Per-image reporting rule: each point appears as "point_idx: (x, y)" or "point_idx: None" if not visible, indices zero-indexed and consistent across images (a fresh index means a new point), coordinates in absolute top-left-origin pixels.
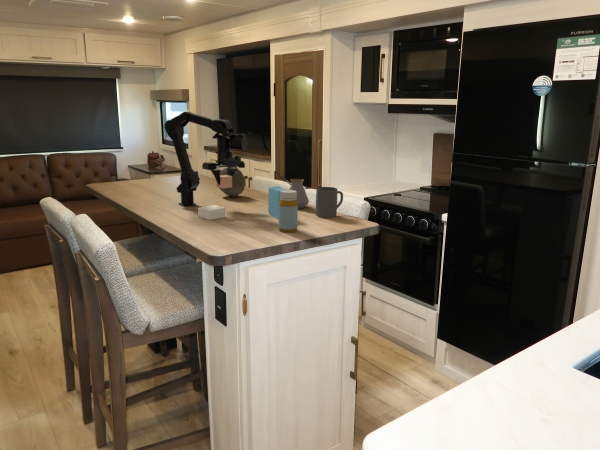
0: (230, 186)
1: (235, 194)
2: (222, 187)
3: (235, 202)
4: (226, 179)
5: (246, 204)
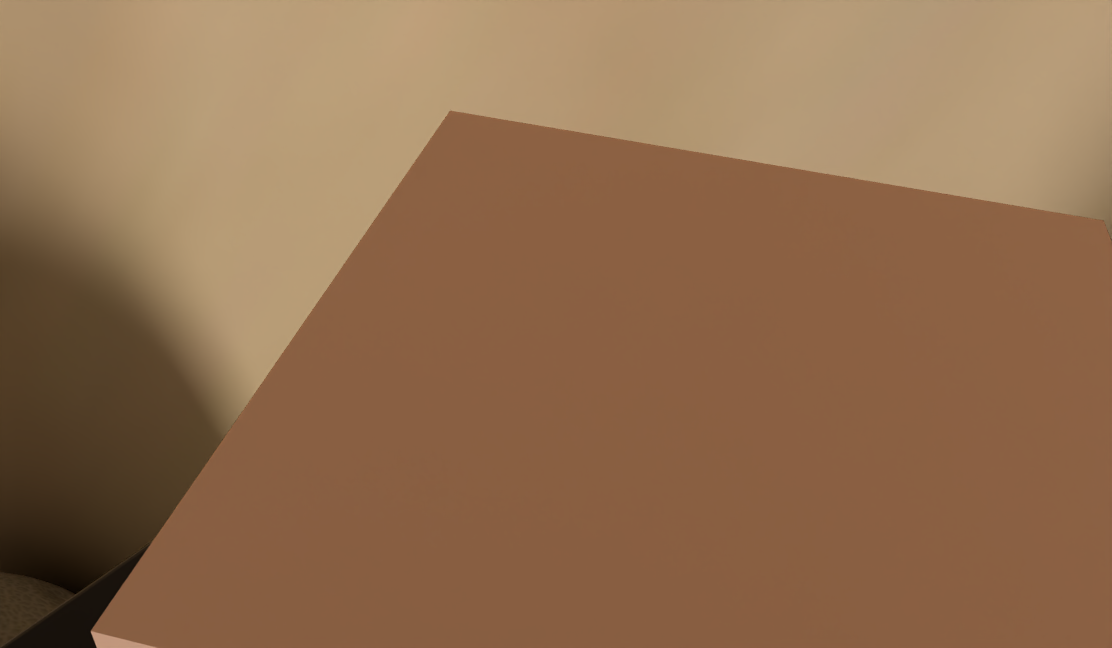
0: (536, 159)
1: (41, 590)
2: (1103, 247)
3: (214, 330)
4: (780, 559)
5: (79, 42)
